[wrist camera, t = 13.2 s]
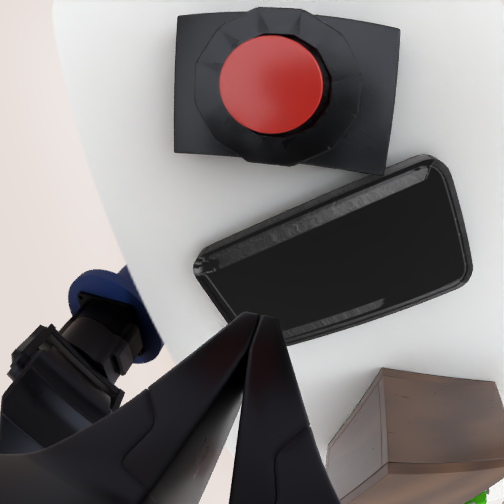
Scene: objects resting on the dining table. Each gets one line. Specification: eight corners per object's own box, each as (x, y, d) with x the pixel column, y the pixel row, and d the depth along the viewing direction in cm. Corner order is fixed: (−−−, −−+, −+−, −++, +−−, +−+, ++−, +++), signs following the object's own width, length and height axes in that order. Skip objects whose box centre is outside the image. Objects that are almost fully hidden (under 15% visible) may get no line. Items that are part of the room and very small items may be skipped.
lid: (520, 455, 13) (522, 464, 12) (431, 514, 19) (432, 520, 19) (388, 462, 14) (388, 474, 14) (319, 514, 21) (318, 521, 20)
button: (229, 124, 13) (216, 130, 11) (233, 40, 11) (220, 34, 9) (318, 133, 12) (318, 139, 11) (326, 46, 10) (326, 39, 9)
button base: (186, 146, 17) (156, 161, 14) (190, 21, 13) (159, 8, 10) (378, 168, 15) (391, 188, 12) (393, 34, 12) (411, 21, 9)
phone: (185, 262, 19) (444, 152, 13) (192, 253, 20) (436, 147, 14) (252, 356, 21) (475, 283, 15) (255, 345, 22) (469, 272, 16)
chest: (495, 381, 20) (517, 456, 13) (425, 453, 26) (428, 514, 20) (381, 367, 21) (388, 461, 14) (327, 444, 27) (319, 513, 21)
